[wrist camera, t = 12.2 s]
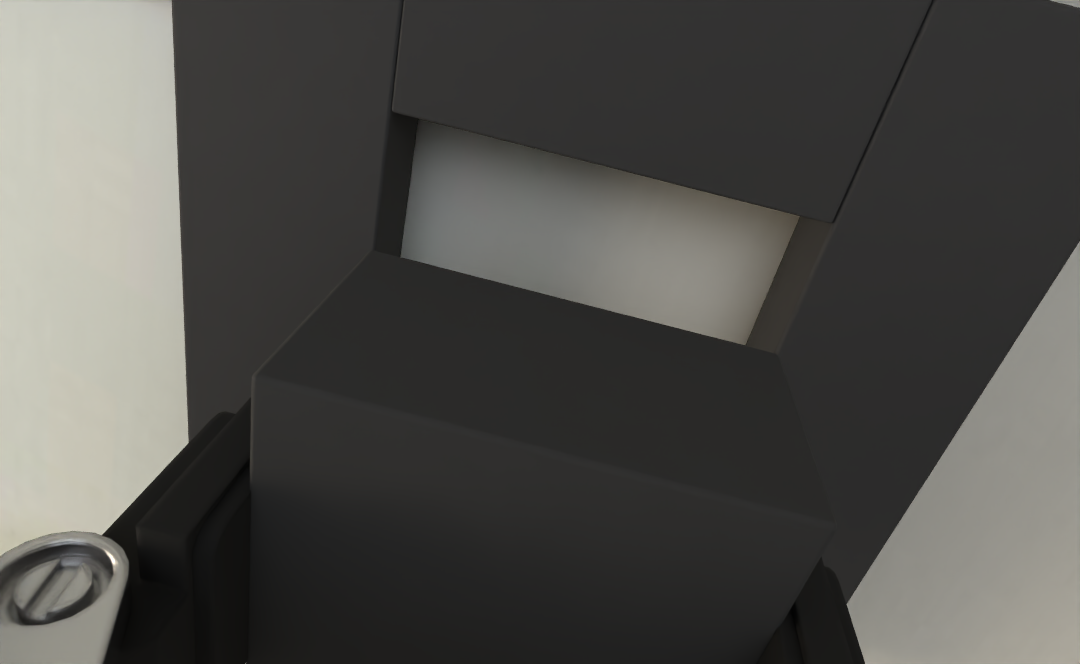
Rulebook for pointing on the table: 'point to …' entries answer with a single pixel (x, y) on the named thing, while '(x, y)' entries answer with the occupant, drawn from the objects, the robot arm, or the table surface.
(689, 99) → the dark grey square frame
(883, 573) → the table surface
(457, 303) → the black block
